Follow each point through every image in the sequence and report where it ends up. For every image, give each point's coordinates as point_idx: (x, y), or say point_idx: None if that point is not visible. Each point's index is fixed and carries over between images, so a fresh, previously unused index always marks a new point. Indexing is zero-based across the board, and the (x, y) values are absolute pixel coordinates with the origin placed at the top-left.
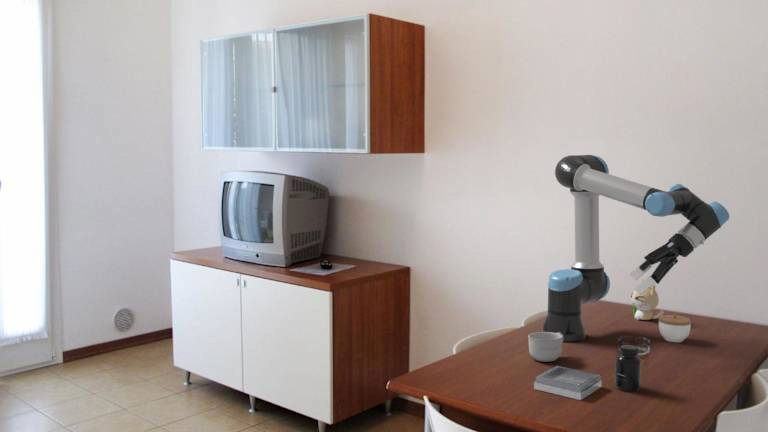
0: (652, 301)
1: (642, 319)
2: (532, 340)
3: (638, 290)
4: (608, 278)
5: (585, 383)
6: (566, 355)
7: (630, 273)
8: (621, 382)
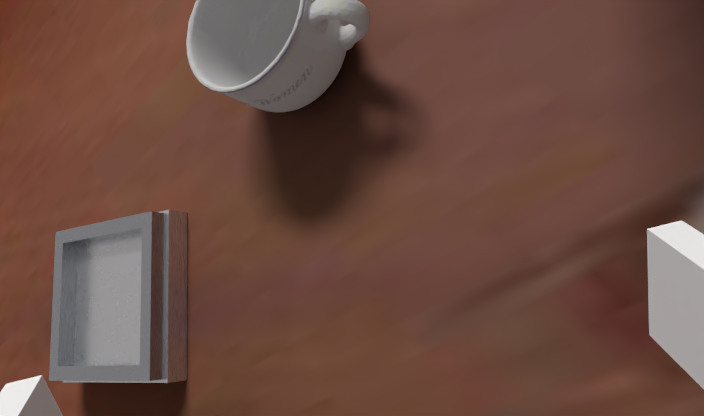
0: None
1: None
2: (198, 16)
3: (663, 293)
4: None
5: (75, 377)
6: (408, 69)
7: (3, 393)
8: None
